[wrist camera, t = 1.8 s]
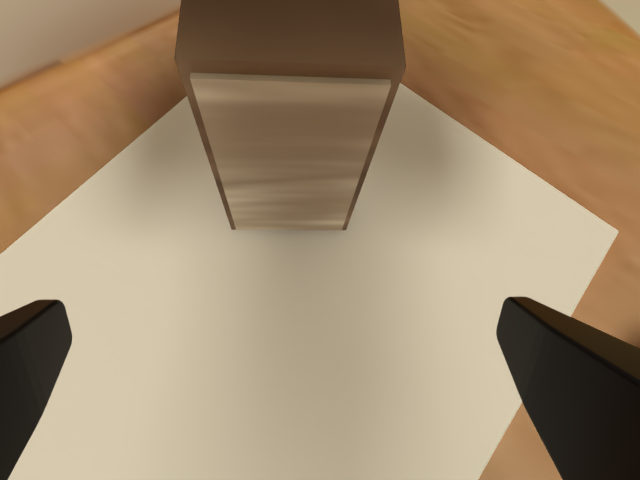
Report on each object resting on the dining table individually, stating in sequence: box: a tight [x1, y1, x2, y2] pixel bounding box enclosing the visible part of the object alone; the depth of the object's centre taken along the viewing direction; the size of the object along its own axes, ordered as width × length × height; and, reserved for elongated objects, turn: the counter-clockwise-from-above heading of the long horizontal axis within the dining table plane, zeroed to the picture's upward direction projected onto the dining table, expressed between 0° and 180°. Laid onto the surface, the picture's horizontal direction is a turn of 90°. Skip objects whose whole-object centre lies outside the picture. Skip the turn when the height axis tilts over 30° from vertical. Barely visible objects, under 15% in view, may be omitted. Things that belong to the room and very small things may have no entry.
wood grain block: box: [174, 0, 406, 230], centre depth 17 cm, size 3×6×12 cm, turn 91°
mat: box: [0, 83, 619, 480], centre depth 21 cm, size 28×24×1 cm
